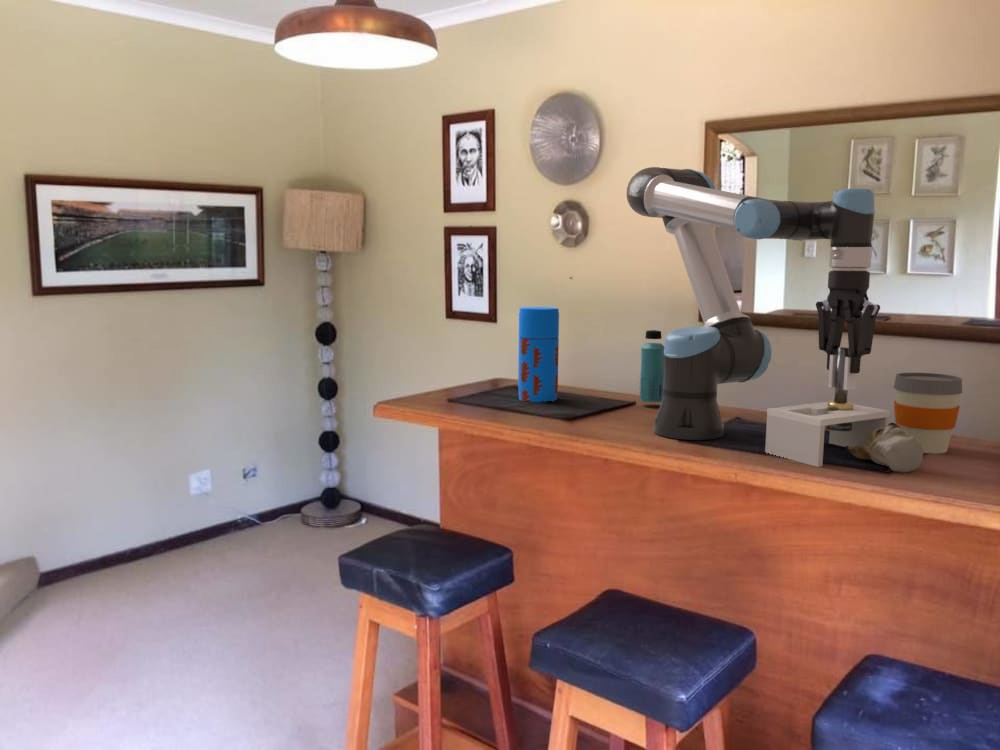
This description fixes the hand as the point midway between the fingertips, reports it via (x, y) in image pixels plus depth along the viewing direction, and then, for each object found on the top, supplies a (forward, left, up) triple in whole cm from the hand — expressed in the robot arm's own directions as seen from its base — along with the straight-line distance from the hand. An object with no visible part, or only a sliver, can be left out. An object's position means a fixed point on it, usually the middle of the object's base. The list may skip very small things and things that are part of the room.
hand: (841, 387), depth 167 cm
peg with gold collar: (0, 0, -8) cm, 8 cm away
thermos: (-82, -20, -13) cm, 86 cm away
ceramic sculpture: (+12, -1, -14) cm, 18 cm away
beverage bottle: (-59, +1, -13) cm, 60 cm away
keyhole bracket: (0, -3, -13) cm, 14 cm away
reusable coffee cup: (+6, +19, -13) cm, 24 cm away
